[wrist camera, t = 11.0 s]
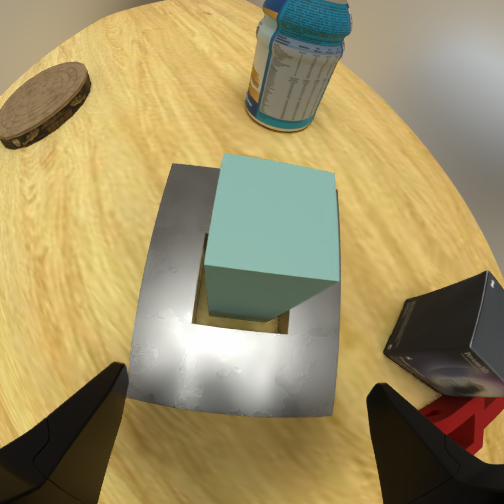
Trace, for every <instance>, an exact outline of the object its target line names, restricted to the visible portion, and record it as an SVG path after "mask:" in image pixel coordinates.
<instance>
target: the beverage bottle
mask: <svg viewBox="0 0 504 504" xmlns="http://www.w3.org/2000/svg"><path fill="white" fill-rule="evenodd" d="M262 9H263V12H264V14H265V16H264V18H263V19H262V20H261V21H260V22H259V24H258V27H257V30H256V37H257V45H256V50H255V56H254V62H253V67H252V73H251V79H250V84H249V88H248V92H247V95H246V101H245V105H246V109H247V111H248V113H249V114H250V116H251V117H252V118H253V119H254V120H256V121H257V122H258V123H260V124H262V125H263V126H266V127H268V128H271V129H274V130H278V131H287V132H290V131H298V130H301V129H304V128H306V127H307V126H308V125H310V123H311V122H312V121H313V118H314V116H315V113H316V110H317V108H318V106H319V103H320V101H321V99H322V97H323V94H324V92H325V90H326V87H327V85H328V83H329V81H330V78H331V76H332V74H333V72H334V69H335V67H336V65H337V63H338V60H339V59H340V58H341V57H342V55H343V52H344V49H345V44H344V38H345V37H346V36H348V35H349V34H350V33H351V30H352V17H351V11H350V8H349V5H348V2H347V0H266V1H265V2H264V4H263V8H262Z"/></svg>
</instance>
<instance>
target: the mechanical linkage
mask: <svg viewBox="0 0 504 504" xmlns="http://www.w3.org/2000/svg"><path fill="white" fill-rule="evenodd" d="M503 409H504V397H462V396H444V395H443V396H441V397H440V398H438V399H437V400H435V401H433V402H432V403H430V404H429V405H427V406H425V407H423V408H422V409H420V410H418V411H419V412H420V413H422V414H423V415H424V416H425V417H426V418H427V419H429V420H430V421H431V422H432V423H433V424H434V425H435V426H437V427H438V428H439V429H440V430H441V431H442V432H444V434H446V435H447V436H448V437H449V438H451V439H452V440H453V441H454V442H456V443H457V444H458V445H459V446H461V447H462V448H464V449H465V450H466V451H468V452H469V453H471V454H472V455H474V454H475V453H476V452H478V451H479V450H480V449H481V448H482V446H483V433H484V428H485V427H486V426H487V425H488V424H490V423H491V422H492V421H493V420H494V419H495V418H496V417H497V415H498V414H499V413H500V412H501V411H502V410H503Z"/></svg>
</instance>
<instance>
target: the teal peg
mask: <svg viewBox="0 0 504 504" xmlns="http://www.w3.org/2000/svg"><path fill="white" fill-rule="evenodd" d="M204 270H205V281H206V291H207V300H208V310H209V316H216V317H224V318H232V319H241V320H250V321H260V322H267V321H269V320H271V319H273V318H275V317H277V316H279V315H281V314H282V313H284V312H286V311H288V310H290V309H292V308H293V307H295V306H297V305H299V304H301V303H302V302H304V301H306V300H308V299H310V298H311V297H313V296H315V295H317V294H318V293H320V292H322V291H324V290H325V289H327V288H329V287H330V286H332V285H334V284H335V283H337V282H339V239H338V217H337V200H336V187H335V175H334V173H331V172H326V171H322V170H317V169H313V168H308V167H303V166H298V165H293V164H288V163H282V162H277V161H271V160H265V159H259V158H253V157H246V156H239V155H232V154H225V153H224V155H223V159H222V164H221V170H220V175H219V180H218V185H217V190H216V196H215V201H214V207H213V213H212V218H211V224H210V230H209V236H208V242H207V248H206V255H205V261H204Z"/></svg>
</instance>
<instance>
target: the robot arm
mask: <svg viewBox="0 0 504 504" xmlns="http://www.w3.org/2000/svg"><path fill="white" fill-rule="evenodd" d="M128 385H129V377H128V372H127V368H126V365H125V364H124V363H120V362H113V363H111V364H110V365H109V366H108V367H106V368H105V369H104V370H103V371H102V372H100V373H99V374H98V375H97V376H96V377H94V378H93V379H92V380H91V381H89V382H88V383H87V384H86V385H85V386H83V387H82V388H81V389H80V390H79V391H77V392H76V393H75V394H74V395H72V396H71V397H70V398H69V399H68V400H66V401H65V402H64V403H63V404H62V405H60V406H59V407H58V408H57V409H55V410H54V411H53V412H52V413H51V414H49V415H48V416H47V417H46V418H44V419H43V420H42V421H41V422H40V423H38V424H37V425H36V426H34V427H33V428H32V429H31V430H29V431H28V432H26V433H25V434H23V435H22V436H20V437H19V438H17V439H15V440H14V441H12V442H10V443H9V444H7V445H6V446H4V447H2V448H1V449H0V504H97V503H98V499H99V495H100V491H101V487H102V484H103V480H104V476H105V473H106V469H107V465H108V462H109V459H110V455H111V452H112V448H113V445H114V442H115V439H116V436H117V432H118V429H119V426H120V423H121V419H122V414H123V409H124V404H125V399H126V394H127V390H128ZM366 403H367V410H368V419H369V428H370V435H371V440H372V444H373V449H374V454H375V459H376V464H377V469H378V474H379V480H380V486H381V491H382V498H383V504H504V464H488V463H485V462H483V461H481V460H480V459H478V458H477V457H475V456H474V455H472V454H471V453H469V452H468V451H466V450H465V449H464V448H462V447H461V446H459V445H458V444H457V443H456V442H454V441H453V440H452V439H451V438H449V437H448V436H447V435H446V434H444V432H442V431H441V430H440V429H439V428H438V427H437V426H435V425H434V424H433V423H432V422H431V421H430V420H429V419H427V418H426V417H425V416H424V415H423V414H422V413H420V412H419V411H418V410H417V409H416V408H415V407H414V406H412V405H411V404H410V403H409V402H408V401H407V400H405V399H404V398H403V397H402V396H401V395H400V394H399V393H397V392H396V391H395V390H394V389H393V388H392V387H391V386H389V385H388V384H387V383H377V384H375V386H374V387H373V389H372V390H371V391H370V393H369V394H368V396H367V399H366Z"/></svg>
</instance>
